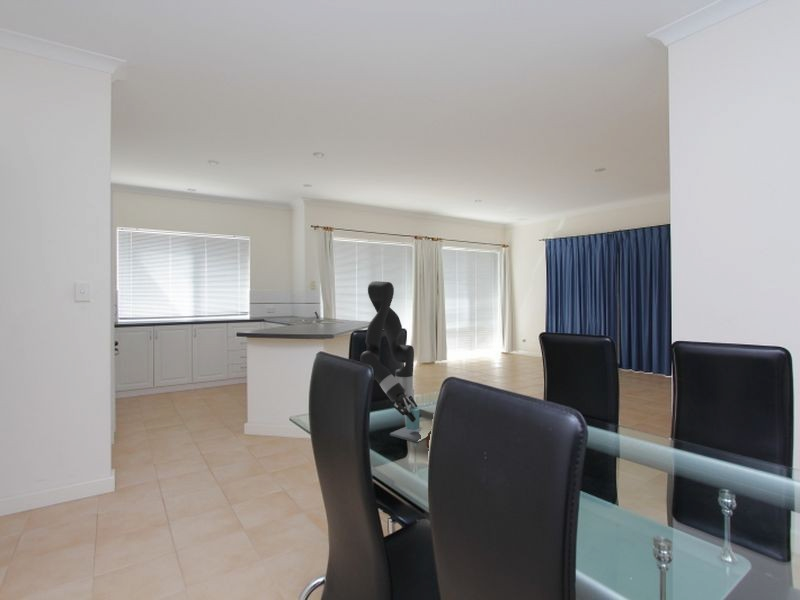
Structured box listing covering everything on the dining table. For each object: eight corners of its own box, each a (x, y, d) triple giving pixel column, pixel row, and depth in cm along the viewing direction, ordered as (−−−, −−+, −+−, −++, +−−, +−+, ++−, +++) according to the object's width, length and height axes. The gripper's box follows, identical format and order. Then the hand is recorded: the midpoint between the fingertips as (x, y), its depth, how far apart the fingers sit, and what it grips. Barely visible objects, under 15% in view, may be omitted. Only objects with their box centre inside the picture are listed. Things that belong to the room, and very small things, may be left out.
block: (411, 426, 179) (411, 407, 179) (419, 428, 176) (419, 409, 176) (406, 428, 176) (406, 409, 176) (413, 430, 173) (413, 411, 173)
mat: (409, 427, 186) (409, 425, 186) (436, 433, 177) (436, 431, 177) (390, 435, 175) (389, 433, 175) (416, 442, 166) (416, 440, 166)
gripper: (389, 385, 173) (415, 418, 167) (405, 379, 186) (429, 409, 180) (378, 396, 176) (403, 429, 170) (394, 390, 188) (418, 420, 183)
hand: (417, 419), depth 175 cm, fingers closed on block, 4 cm apart
